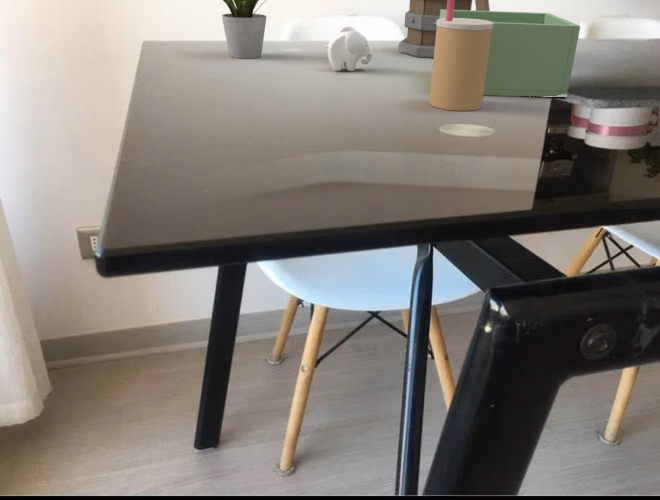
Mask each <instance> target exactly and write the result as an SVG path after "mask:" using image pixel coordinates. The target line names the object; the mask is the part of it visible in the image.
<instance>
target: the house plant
mask: <svg viewBox="0 0 660 500" xmlns="http://www.w3.org/2000/svg"><path fill="white" fill-rule="evenodd" d="M222 1H223V2H224V3H225V4H226V6H227V8H228V9H229V11H230V13H224V14H221V19H222V24H223V29H224V34H225V39H226V45H227V49H228V50H227V51H228V54H229V55H228V56H229V57H230V58H234V59H257V58H261V57H262V53H263V46H264V39H265V31H266V24H267V15H265V14H262V13H261V14H260V13H257V11H258V9H260V7H257V8H256V6H257V4H258V2H259V1H260V0H222ZM266 1H267V0H264V1H263V2H262V3H261V4H260V6H262V5H263V4H264V3H265V2H266ZM255 8H256V10H255ZM254 10H255V11H254Z"/></svg>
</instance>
